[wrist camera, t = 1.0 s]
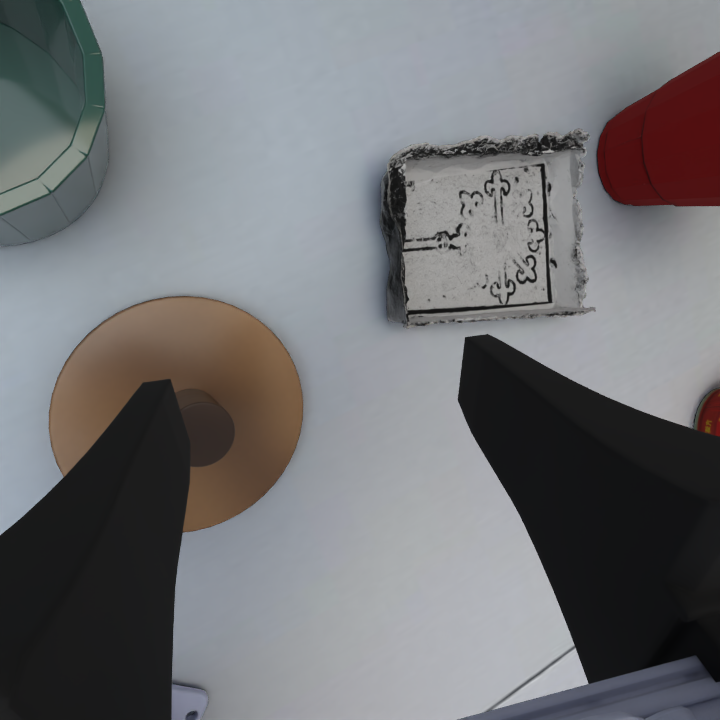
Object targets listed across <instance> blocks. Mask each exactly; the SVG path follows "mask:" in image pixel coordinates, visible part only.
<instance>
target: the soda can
mask: <svg viewBox="0 0 720 720" xmlns="http://www.w3.org/2000/svg"><path fill="white" fill-rule="evenodd" d="M694 429H695V430H698V431H702V432H705V433H708V434H712V435H715V436H719V437H720V388H719V389H714V390H712V391H711V392H709V393H708V394H707V395H706V397H705V398H704V399H703V400H702V402H701V404H700V406H699V408H698V411H697V414H696V417H695V424H694Z"/></svg>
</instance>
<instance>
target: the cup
mask: <svg viewBox="0 0 720 720" xmlns="http://www.w3.org/2000/svg"><path fill="white" fill-rule="evenodd" d="M108 160H109V150H108V130H107V113H106V97H105V81H104V66H103V57H102V52H101V50H100V47H99V45H98V43H97V40H96V38H95V35H94V33H93V30H92V28H91V25H90V23H89V20H88V18H87V16H86V13H85V11H84V8H83V6H82V3H81V1H80V0H0V246H10V245H18V244H25V243H29V242H33V241H37V240H40V239H43V238H45V237H48V236H51V235H53V234H55V233H57V232H59V231H61V230H62V229H64V228H66V227H67V226H69V225H70V224H71V223H73V222H74V221H75V220H77V219H78V218H79V217H80V216H81V215H82V214H83V213H84V212H85V211H86V210H87V209H88V208H89V206H90V205H91V203H92V202H93V201H94V199H95V198H96V196H97V194H98V192H99V190H100V188H101V186H102V183H103V180H104V177H105V174H106V169H107V165H108Z"/></svg>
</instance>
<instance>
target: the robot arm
mask: <svg viewBox="0 0 720 720" xmlns="http://www.w3.org/2000/svg"><path fill="white" fill-rule="evenodd" d="M458 402H459V404H460V407H461V409H462V412H463V414H464V417H465V419H466V421H467V424H468V426H469V428H470V431H471V433H472V434H473V436H474V438H475V440H476V441H477V443H478V445H479V447H480V448H481V450H482V452H483V453H484V455H485V457H486V458H487V460H488V462H489V463H490V465H491V467H492V468H493V470H494V472H495V473H496V475H497V477H498V478H499V480H500V482H501V483H502V485H503V487H504V488H505V490H506V492H507V493H508V495H509V497H510V498H511V500H512V502H513V504H514V506H515V507H516V509H517V511H518V513H519V515H520V517H521V519H522V521H523V523H524V525H525V527H526V529H527V532H528V534H529V536H530V538H531V540H532V542H533V545H534V547H535V549H536V551H537V553H538V556H539V558H540V560H541V563H542V565H543V567H544V570H545V572H546V574H547V577H548V579H549V581H550V584H551V586H552V588H553V591H554V593H555V596H556V598H557V601H558V603H559V606H560V608H561V611H562V613H563V616H564V618H565V621H566V623H567V626H568V628H569V631H570V633H571V636H572V639H573V642H574V644H575V647H576V650H577V653H578V655H579V658H580V661H581V664H582V666H583V669H584V672H585V675H586V677H587V680H588V683H589V684H587V685H584V686H580V687H576V688H573V689H569V690H565V691H562V692H558V693H554V694H550V695H547V696H543V697H539V698H536V699H532V700H528V701H524V702H521V703H517V704H513V705H510V706H506V707H502V708H499V709H495V710H491V711H487V712H484V713H480V714H476V715H473V716H469V717H465V718H461V719H458V720H720V437H719V436H715V435H712V434H708V433H705V432H702V431H698V430H695V429H691V428H688V427H685V426H682V425H679V424H676V423H673V422H670V421H667V420H664V419H661V418H658V417H655V416H653V415H650V414H647V413H644V412H642V411H639V410H637V409H634V408H632V407H629V406H627V405H624V404H622V403H620V402H617V401H615V400H612V399H610V398H608V397H605V396H603V395H601V394H599V393H597V392H595V391H593V390H591V389H588V388H586V387H584V386H582V385H580V384H578V383H576V382H574V381H572V380H570V379H568V378H567V377H565V376H563V375H561V374H559V373H557V372H555V371H553V370H552V369H550V368H548V367H546V366H544V365H543V364H541V363H539V362H537V361H536V360H534V359H532V358H530V357H529V356H527V355H525V354H523V353H522V352H520V351H518V350H516V349H515V348H513V347H511V346H509V345H508V344H506V343H504V342H502V341H500V340H498V339H497V338H495V337H493V336H490V335H488V334H486V335H479V336H472V337H465V343H464V352H463V360H462V369H461V377H460V386H459V394H458ZM190 449H191V443H190V440H189V436H188V433H187V430H186V427H185V424H184V420H183V417H182V414H181V411H180V408H179V404H178V401H177V398H176V395H175V392H174V388H173V385H172V382H171V379H164V380H157V381H150V382H143V383H142V384H141V386H140V387H139V388H138V389H137V390H136V392H135V393H134V394H133V395H132V397H131V398H130V399H129V401H128V402H127V403H126V404H125V406H124V407H123V408H122V410H121V411H120V412H119V413H118V415H117V416H116V417H115V418H114V420H113V421H112V422H111V424H110V425H109V426H108V427H107V428H106V430H105V431H104V432H103V433H102V435H101V436H100V437H99V438H98V439H97V441H96V442H95V443H94V444H93V446H92V447H91V448H90V449H89V450H88V451H87V452H86V453H85V455H84V456H83V457H82V458H81V459H80V460H79V461H78V462H77V463H76V465H75V466H74V467H73V468H72V469H71V470H70V471H69V472H68V473H67V474H66V476H65V477H64V478H63V479H62V480H61V481H60V482H59V483H58V484H57V485H56V486H55V487H54V488H53V489H52V490H51V491H50V492H49V493H48V494H47V495H46V496H45V497H44V498H42V499H41V500H40V501H39V502H38V503H37V504H36V505H35V506H34V507H33V508H32V509H31V510H29V511H28V512H27V513H26V514H25V515H24V516H23V517H22V518H21V519H20V520H18V521H17V522H16V523H15V524H14V525H12V526H11V527H10V528H9V529H8V530H6V531H5V532H4V533H3V534H1V535H0V720H201V718H202V716H203V714H204V712H205V710H206V708H207V705H208V696H207V693H206V692H205V691H204V690H202V689H196V688H191V687H185V686H180V685H174V684H172V657H173V624H174V601H175V584H176V575H177V566H178V559H179V553H180V546H181V540H182V533H183V526H184V520H185V513H186V506H187V499H188V492H189V485H190ZM191 711H195V713H194V714H192V715H190V716H187V714H188V713H189V712H191Z"/></svg>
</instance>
